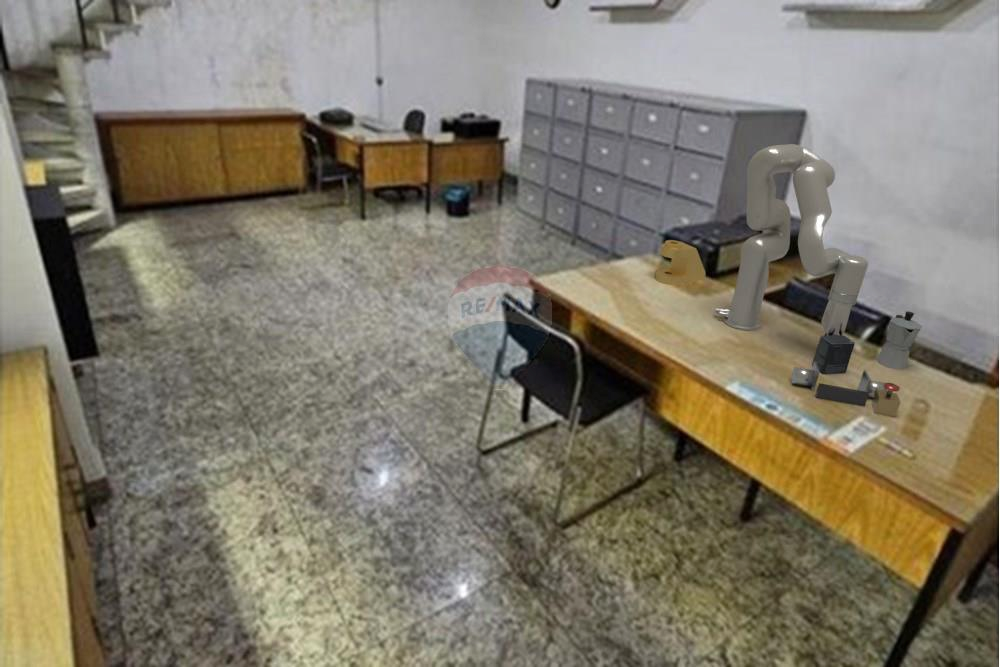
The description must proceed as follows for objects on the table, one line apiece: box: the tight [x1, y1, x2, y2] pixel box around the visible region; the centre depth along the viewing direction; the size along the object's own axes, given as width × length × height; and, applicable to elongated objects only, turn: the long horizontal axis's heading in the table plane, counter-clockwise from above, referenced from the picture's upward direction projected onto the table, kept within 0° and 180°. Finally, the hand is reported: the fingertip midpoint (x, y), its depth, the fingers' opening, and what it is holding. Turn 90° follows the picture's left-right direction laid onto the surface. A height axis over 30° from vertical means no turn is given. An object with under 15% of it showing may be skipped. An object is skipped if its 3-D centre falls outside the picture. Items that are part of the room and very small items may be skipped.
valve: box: [870, 382, 902, 418], centre depth 171 cm, size 5×5×8 cm
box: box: [811, 334, 856, 375], centre depth 190 cm, size 8×6×11 cm
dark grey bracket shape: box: [790, 361, 888, 407], centre depth 178 cm, size 24×10×6 cm, turn 73°
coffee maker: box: [875, 311, 923, 371], centre depth 195 cm, size 15×9×18 cm, turn 163°
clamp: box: [654, 239, 706, 285], centre depth 255 cm, size 20×9×16 cm, turn 115°
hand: (826, 350), depth 199 cm, fingers closed
